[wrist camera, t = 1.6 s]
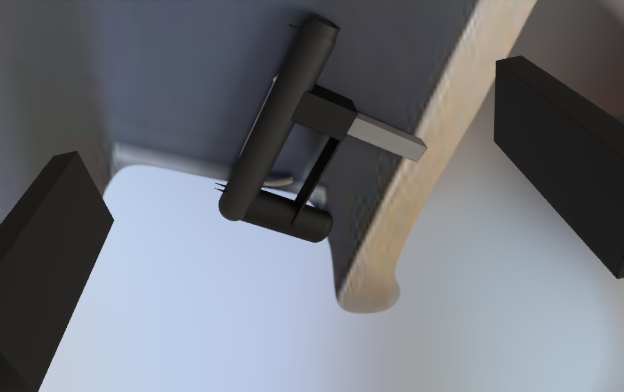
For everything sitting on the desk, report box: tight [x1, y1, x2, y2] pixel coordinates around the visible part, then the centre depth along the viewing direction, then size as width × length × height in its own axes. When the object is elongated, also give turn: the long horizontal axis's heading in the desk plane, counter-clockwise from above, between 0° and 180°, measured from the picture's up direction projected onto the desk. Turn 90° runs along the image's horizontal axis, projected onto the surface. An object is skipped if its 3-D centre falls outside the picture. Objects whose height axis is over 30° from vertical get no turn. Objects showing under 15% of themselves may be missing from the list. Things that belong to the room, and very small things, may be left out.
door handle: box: [216, 13, 427, 243], centre depth 43 cm, size 3×20×16 cm
